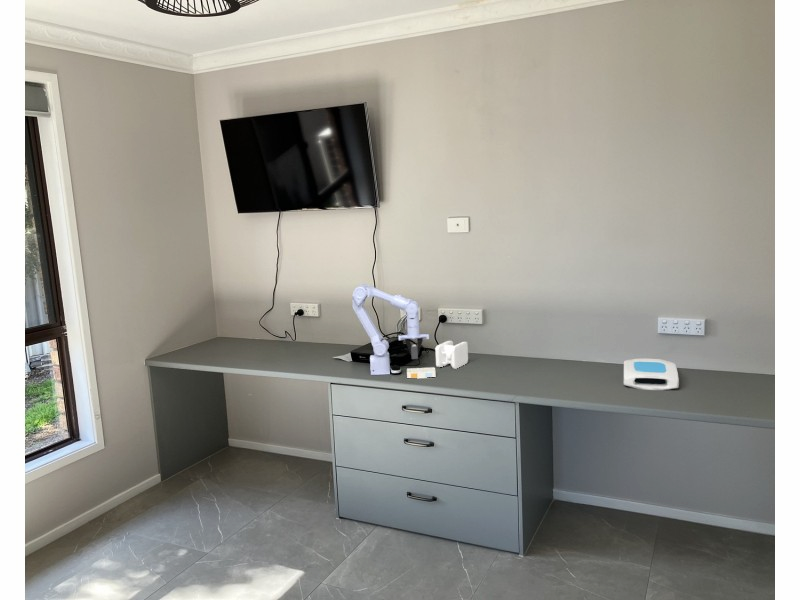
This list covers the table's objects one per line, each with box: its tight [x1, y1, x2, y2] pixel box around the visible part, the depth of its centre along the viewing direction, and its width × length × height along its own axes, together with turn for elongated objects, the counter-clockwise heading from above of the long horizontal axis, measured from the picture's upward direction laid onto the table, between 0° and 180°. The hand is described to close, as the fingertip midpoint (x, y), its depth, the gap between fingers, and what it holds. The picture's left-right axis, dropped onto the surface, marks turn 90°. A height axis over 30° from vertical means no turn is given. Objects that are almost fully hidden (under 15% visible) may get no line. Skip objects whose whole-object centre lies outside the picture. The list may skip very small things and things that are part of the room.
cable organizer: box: [434, 340, 469, 370], centre depth 308 cm, size 15×11×12 cm
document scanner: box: [623, 357, 680, 391], centre depth 271 cm, size 21×28×6 cm
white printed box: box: [406, 367, 437, 379], centre depth 295 cm, size 13×7×3 cm, turn 89°
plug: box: [410, 343, 419, 360], centre depth 301 cm, size 3×3×7 cm
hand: (414, 354), depth 301 cm, fingers closed on plug, 3 cm apart
